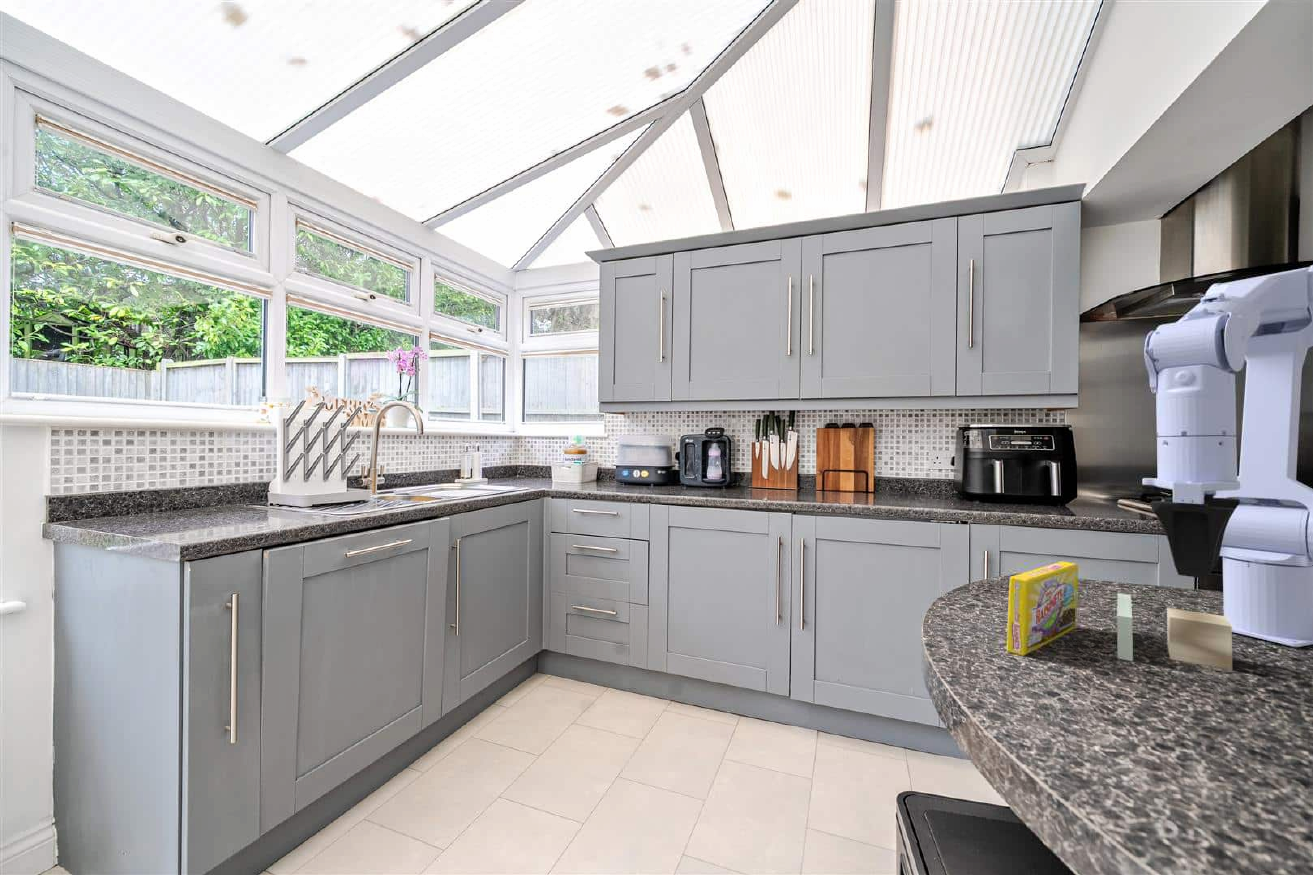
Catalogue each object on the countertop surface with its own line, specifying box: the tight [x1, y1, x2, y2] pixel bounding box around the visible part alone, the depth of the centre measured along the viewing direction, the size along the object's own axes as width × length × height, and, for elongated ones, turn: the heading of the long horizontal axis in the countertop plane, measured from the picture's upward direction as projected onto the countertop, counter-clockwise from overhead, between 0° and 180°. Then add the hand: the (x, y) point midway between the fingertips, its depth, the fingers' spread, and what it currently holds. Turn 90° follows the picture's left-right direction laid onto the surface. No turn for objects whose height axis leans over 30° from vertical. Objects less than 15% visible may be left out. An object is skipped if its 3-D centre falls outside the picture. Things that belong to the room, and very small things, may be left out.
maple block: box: [1166, 607, 1233, 672], centre depth 57 cm, size 4×4×4 cm
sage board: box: [1116, 592, 1134, 662], centre depth 61 cm, size 1×12×4 cm, turn 139°
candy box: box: [1006, 560, 1079, 657], centre depth 62 cm, size 16×2×8 cm, turn 126°
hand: (1197, 570), depth 54 cm, fingers open, 7 cm apart
